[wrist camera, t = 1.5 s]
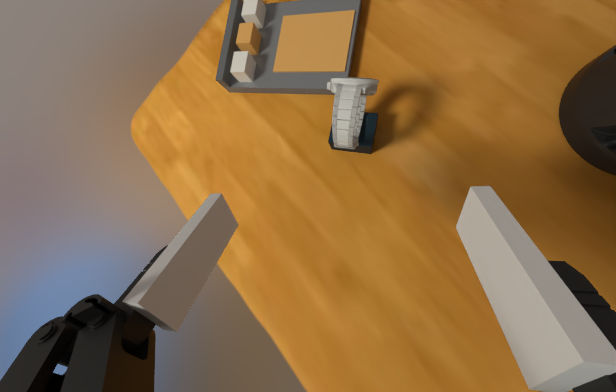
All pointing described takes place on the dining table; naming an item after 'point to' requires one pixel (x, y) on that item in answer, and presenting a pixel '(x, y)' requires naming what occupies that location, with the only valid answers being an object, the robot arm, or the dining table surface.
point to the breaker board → (288, 45)
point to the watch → (352, 114)
